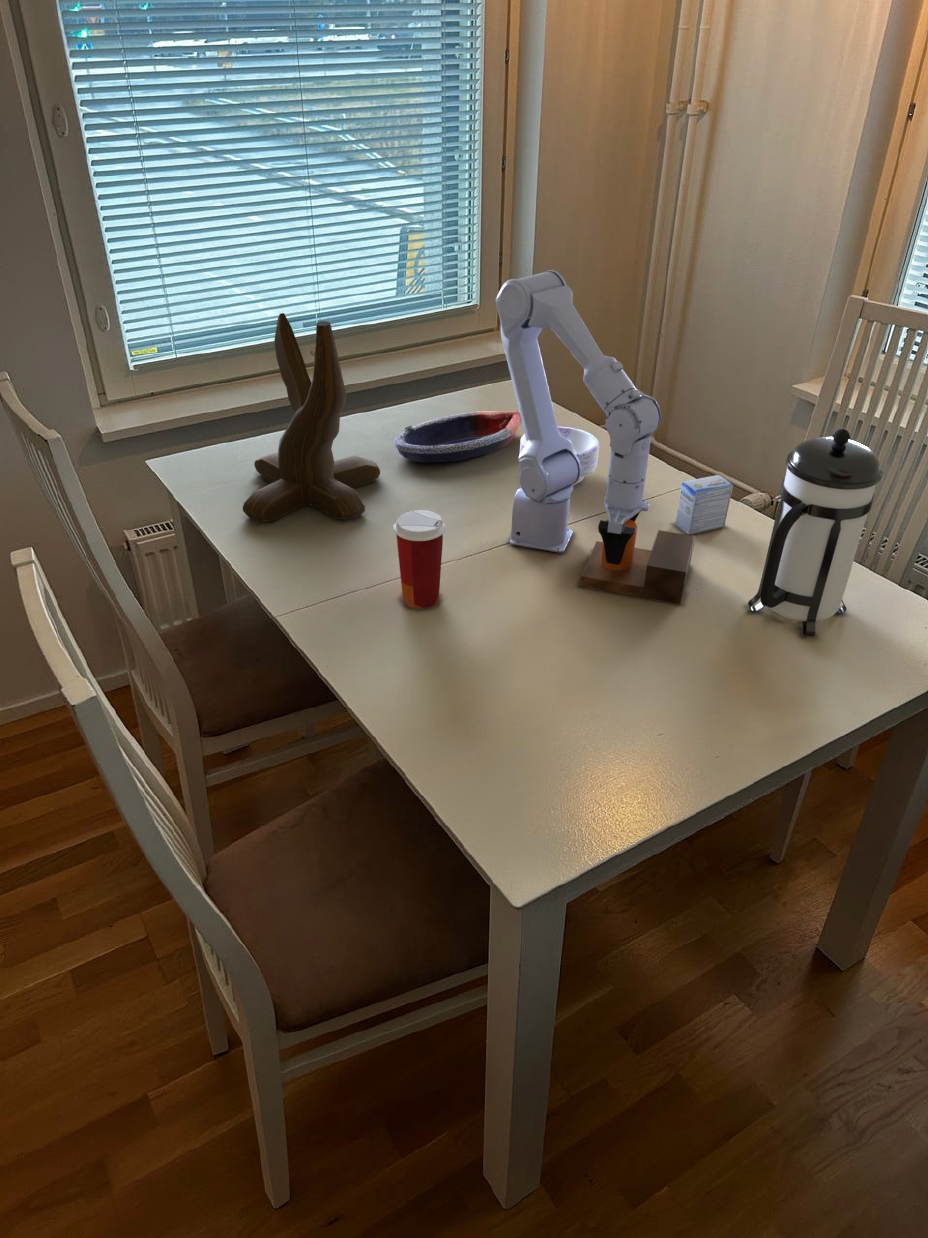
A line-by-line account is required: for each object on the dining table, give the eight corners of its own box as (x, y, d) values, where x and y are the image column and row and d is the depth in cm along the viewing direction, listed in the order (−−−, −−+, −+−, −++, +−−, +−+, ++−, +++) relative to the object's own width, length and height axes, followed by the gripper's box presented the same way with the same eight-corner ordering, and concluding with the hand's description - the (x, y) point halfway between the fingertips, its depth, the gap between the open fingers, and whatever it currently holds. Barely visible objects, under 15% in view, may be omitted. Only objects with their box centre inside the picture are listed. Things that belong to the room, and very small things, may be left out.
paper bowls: (565, 455, 189) (568, 418, 185) (611, 483, 179) (615, 445, 174) (503, 470, 183) (505, 433, 178) (547, 501, 172) (550, 462, 168)
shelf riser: (580, 586, 148) (583, 554, 144) (595, 551, 157) (598, 520, 154) (680, 604, 144) (686, 572, 140) (689, 567, 153) (695, 535, 150)
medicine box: (710, 517, 168) (718, 473, 163) (725, 527, 164) (734, 484, 160) (674, 524, 165) (681, 481, 160) (688, 536, 162) (696, 491, 157)
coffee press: (733, 581, 149) (770, 405, 132) (834, 588, 148) (884, 411, 131) (749, 644, 135) (793, 456, 118) (861, 651, 134) (921, 462, 117)
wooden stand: (414, 503, 171) (410, 312, 151) (271, 545, 157) (246, 342, 137) (341, 449, 190) (329, 274, 171) (208, 482, 177) (178, 297, 157)
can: (629, 573, 147) (634, 535, 143) (597, 567, 149) (601, 529, 145) (634, 557, 151) (639, 520, 148) (603, 552, 153) (607, 515, 149)
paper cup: (452, 591, 146) (452, 513, 138) (435, 616, 140) (434, 536, 132) (406, 582, 148) (404, 504, 140) (387, 607, 142) (384, 527, 134)
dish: (379, 449, 191) (378, 426, 188) (503, 421, 204) (504, 399, 201) (415, 477, 180) (414, 454, 177) (543, 446, 193) (545, 423, 190)
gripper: (645, 500, 135) (634, 578, 142) (659, 460, 146) (648, 535, 154) (598, 492, 136) (589, 570, 144) (615, 454, 148) (607, 528, 155)
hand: (617, 552), depth 149 cm, fingers open, 7 cm apart
